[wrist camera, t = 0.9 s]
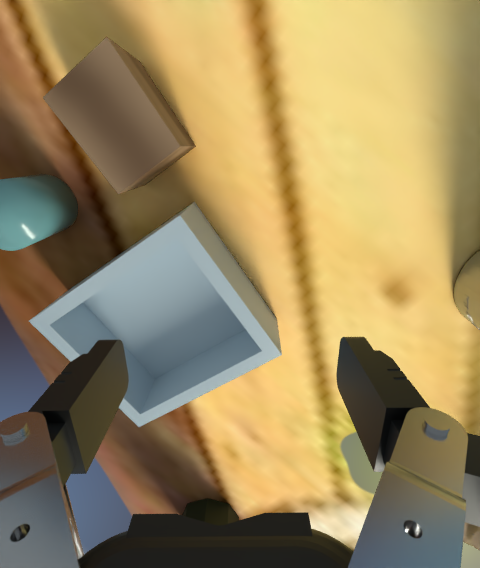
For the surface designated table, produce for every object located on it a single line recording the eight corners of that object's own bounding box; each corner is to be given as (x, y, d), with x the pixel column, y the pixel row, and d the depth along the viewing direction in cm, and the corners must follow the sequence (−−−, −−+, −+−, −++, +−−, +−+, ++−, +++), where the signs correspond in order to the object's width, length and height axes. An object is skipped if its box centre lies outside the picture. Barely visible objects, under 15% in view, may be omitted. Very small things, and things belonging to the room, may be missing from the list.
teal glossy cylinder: (48, 162, 27) (-5, 166, 21) (89, 211, 28) (50, 227, 23) (10, 195, 28) (-50, 207, 23) (51, 241, 30) (5, 262, 24)
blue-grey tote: (194, 201, 28) (179, 215, 22) (276, 319, 32) (281, 354, 27) (67, 290, 32) (28, 321, 26) (156, 384, 36) (139, 427, 31)
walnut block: (140, 62, 24) (106, 36, 18) (195, 146, 26) (180, 146, 20) (88, 108, 25) (42, 97, 20) (145, 184, 27) (118, 194, 22)
